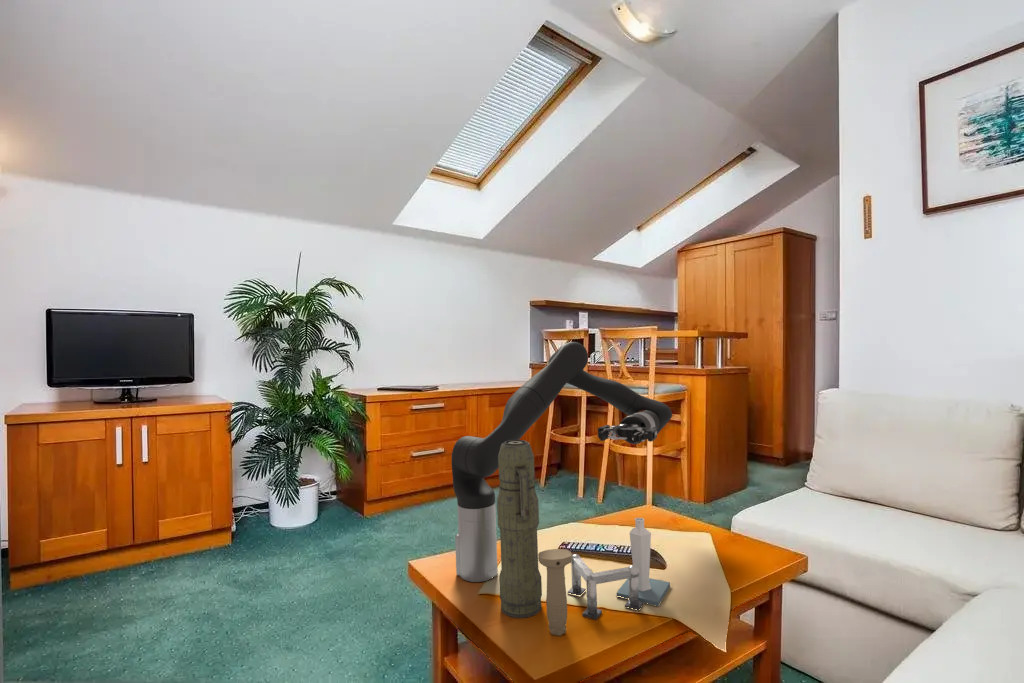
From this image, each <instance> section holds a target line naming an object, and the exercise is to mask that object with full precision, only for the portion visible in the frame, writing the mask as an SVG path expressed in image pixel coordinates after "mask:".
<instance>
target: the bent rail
mask: <svg viewBox="0 0 1024 683" xmlns="http://www.w3.org/2000/svg"><path fill="white" fill-rule="evenodd" d="M569 564H570V565H571V568H570V569H571V587H570V589H568V590H567V594H568V593H571V594H576V595H581V594H582V593H583V592H584V591H585V590H586V607H587V608H586V609H585V610H584V611H583V612H582V617H584V618H589V619H592V620H595V621H597V620H598V619H599V617H600V616H601V615H602V614H603V610H602V609H600V608H598V597H597V596H598V593H597V585H599V584H604V583H605V584H606V583H612V582H617V581H621V580H627V579H628V585H629V600H626V602H625V604H624V608H625V607H629V608H633V609H637V610H639V609H640V608H641V609H642V607H643V606H644V604H643V602H642V601H639V592H638V576H639V569H638V568H637V567H636V566H634V565H633V564H632V565H631V564H630V565H628V567H627V566H626V567H620V568H615V569H609V570H602V571H598V572H593V571H592V570H591V569H590V567H589V566H588V565H587V564H586V563H585V562H584V561H583V559H582V557H581V556H580V555H579V554H577V553H572V561H571V562H570V563H569ZM582 579H583V580H584V581H585V583H586V584H585V585H586V588H585V587H582ZM642 605H643V606H642ZM641 606H642V607H641ZM641 609H640V610H641Z"/></svg>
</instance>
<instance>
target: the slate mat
mask: <svg viewBox="0 0 1024 683" xmlns="http://www.w3.org/2000/svg"><path fill="white" fill-rule="evenodd" d="M649 583H650V586H651V589H649V590H646V591H640V590H638V592H639V601H642V602H643V603H648V604H652V605H656V606H658V607H659V606H660V605H661V603H662V601H663V600H662V599H664V598H665V596H666V595H667V593H668V591H669V589H670V588H671V582H670V581H665V580H662V579H661V580H660V579H655V578H652V577H651V578H650V577H649ZM665 594H666V595H665ZM617 596H621V597H624V598H629V585H628V579H625V581H624V583H622V585H621V586H620V588H618V590H617V591H616V597H617ZM663 597H664V598H663ZM660 602H661V603H660ZM648 604H647V605H648ZM659 604H660V605H659ZM652 605H651V606H652ZM656 606H655V607H656Z"/></svg>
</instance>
